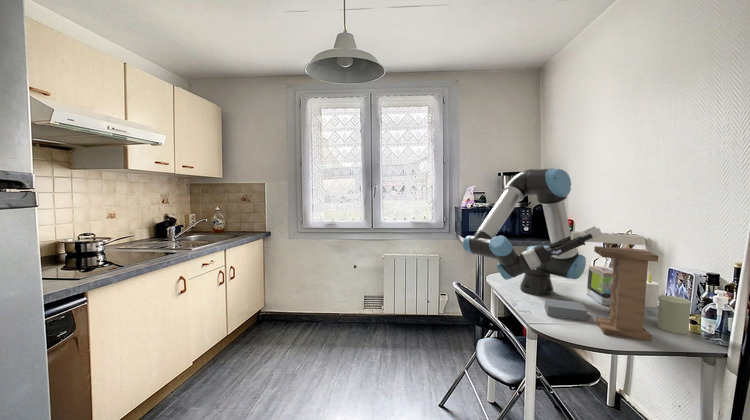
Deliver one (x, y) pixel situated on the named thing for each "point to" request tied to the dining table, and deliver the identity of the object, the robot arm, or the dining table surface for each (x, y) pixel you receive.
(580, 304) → the charcoal platform
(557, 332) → the dining table surface
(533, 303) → the dining table surface
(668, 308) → the can
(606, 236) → the domino bar
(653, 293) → the candle
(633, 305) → the walnut pedestal
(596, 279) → the tea box
